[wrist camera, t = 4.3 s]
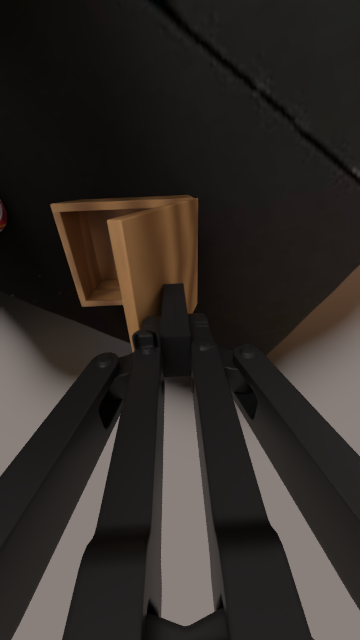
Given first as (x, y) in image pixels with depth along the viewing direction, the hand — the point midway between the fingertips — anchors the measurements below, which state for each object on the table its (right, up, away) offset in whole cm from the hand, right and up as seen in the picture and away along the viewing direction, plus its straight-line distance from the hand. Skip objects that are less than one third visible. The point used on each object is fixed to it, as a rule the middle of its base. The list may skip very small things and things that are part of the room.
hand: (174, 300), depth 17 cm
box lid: (-1, +2, +3) cm, 4 cm away
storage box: (-6, +11, +18) cm, 22 cm away
